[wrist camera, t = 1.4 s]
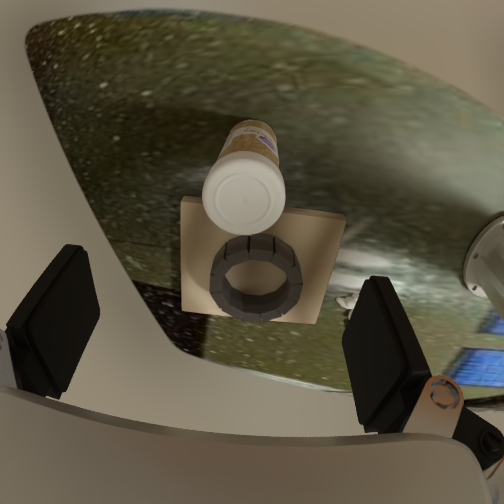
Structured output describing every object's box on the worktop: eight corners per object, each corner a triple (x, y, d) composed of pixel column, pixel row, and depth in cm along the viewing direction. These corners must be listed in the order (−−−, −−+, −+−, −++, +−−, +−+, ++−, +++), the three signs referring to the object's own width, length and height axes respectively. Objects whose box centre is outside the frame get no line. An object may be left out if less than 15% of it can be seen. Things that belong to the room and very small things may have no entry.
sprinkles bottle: (285, 132, 28) (302, 185, 17) (261, 173, 30) (260, 250, 19) (240, 109, 27) (222, 144, 16) (217, 152, 29) (187, 217, 18)
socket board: (343, 214, 32) (353, 236, 28) (313, 315, 40) (318, 342, 36) (184, 195, 31) (173, 215, 28) (184, 302, 39) (177, 328, 35)
